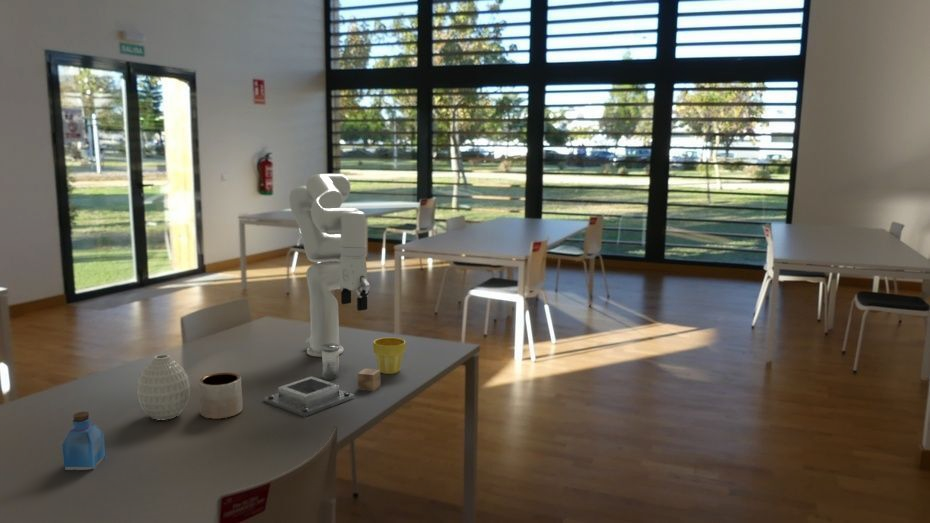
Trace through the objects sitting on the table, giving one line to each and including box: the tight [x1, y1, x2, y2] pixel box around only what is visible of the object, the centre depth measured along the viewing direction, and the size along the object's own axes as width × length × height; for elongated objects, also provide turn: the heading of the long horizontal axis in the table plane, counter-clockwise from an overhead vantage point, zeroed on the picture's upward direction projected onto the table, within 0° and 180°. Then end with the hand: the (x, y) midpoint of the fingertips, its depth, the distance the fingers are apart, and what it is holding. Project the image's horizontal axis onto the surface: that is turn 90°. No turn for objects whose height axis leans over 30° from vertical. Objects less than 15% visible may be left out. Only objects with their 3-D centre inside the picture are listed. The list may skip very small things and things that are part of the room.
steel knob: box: [321, 343, 341, 381], centre depth 217 cm, size 6×6×10 cm
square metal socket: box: [262, 375, 355, 418], centre depth 198 cm, size 18×18×4 cm
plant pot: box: [372, 336, 407, 375], centre depth 223 cm, size 10×10×10 cm
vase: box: [136, 353, 191, 420], centre depth 184 cm, size 13×13×17 cm
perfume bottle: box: [61, 411, 106, 468], centre depth 157 cm, size 6×6×12 cm
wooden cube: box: [357, 367, 381, 392], centre depth 208 cm, size 5×5×5 cm
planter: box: [198, 372, 244, 420], centre depth 188 cm, size 11×11×10 cm
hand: (354, 306), depth 213 cm, fingers open, 9 cm apart
